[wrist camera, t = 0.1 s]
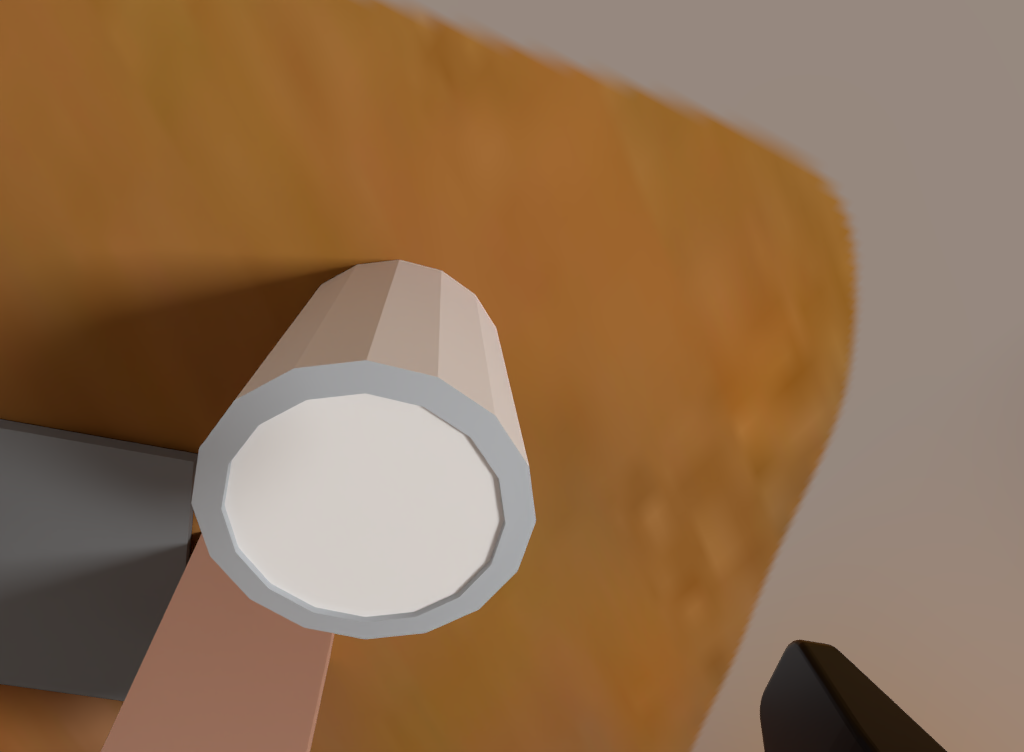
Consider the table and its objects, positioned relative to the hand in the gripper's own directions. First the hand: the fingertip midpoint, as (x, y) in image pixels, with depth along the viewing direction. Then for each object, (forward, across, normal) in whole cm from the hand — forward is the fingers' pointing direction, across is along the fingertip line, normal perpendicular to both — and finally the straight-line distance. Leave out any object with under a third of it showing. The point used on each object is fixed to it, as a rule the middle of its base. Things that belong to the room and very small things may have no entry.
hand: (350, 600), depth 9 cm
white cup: (+15, 0, +5) cm, 16 cm away
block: (+15, +3, +14) cm, 20 cm away
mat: (+15, +9, +14) cm, 22 cm away
